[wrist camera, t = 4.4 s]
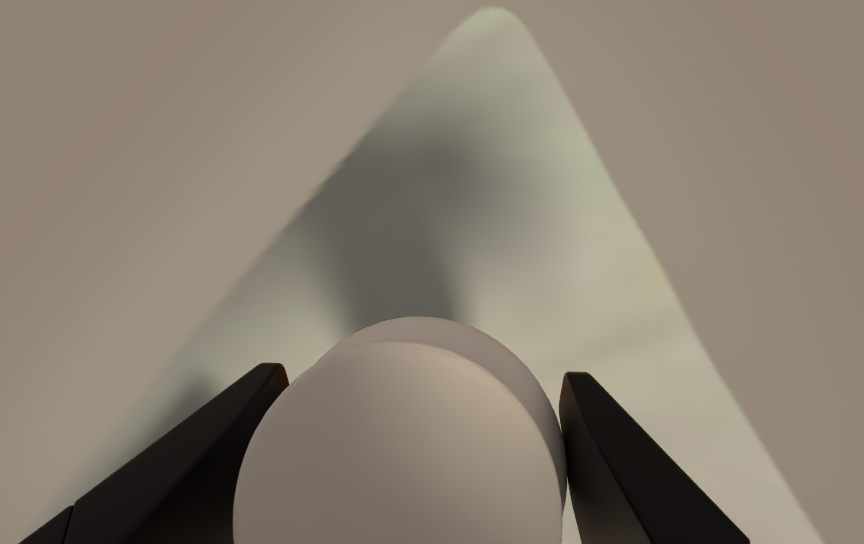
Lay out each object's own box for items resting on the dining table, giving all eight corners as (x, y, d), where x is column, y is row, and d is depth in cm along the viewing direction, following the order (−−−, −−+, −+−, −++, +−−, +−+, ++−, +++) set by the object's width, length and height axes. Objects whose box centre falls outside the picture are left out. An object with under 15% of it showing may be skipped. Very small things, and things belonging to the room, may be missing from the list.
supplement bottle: (328, 412, 15) (89, 476, 5) (446, 309, 15) (418, 204, 6) (429, 549, 14) (352, 941, 4) (554, 432, 14) (735, 546, 5)
